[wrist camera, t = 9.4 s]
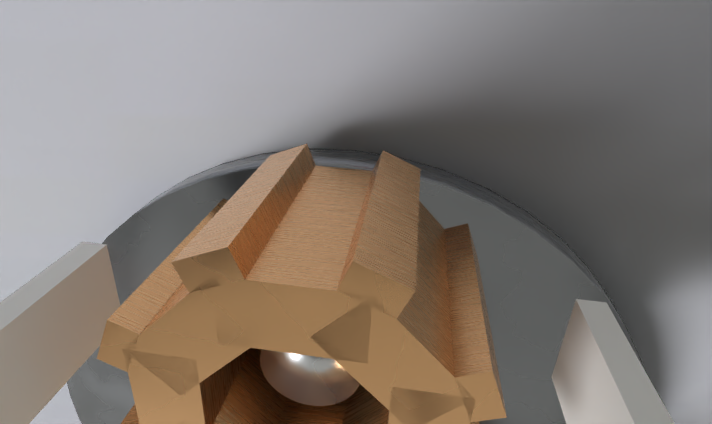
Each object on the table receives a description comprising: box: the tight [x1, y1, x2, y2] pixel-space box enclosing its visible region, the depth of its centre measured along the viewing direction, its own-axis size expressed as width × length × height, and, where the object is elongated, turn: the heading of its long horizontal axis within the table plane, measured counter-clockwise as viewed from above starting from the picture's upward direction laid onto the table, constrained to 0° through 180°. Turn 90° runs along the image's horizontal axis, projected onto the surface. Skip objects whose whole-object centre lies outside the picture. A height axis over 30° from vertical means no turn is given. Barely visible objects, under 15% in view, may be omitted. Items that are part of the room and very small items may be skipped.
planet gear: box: [97, 144, 507, 424], centre depth 13 cm, size 8×8×6 cm
